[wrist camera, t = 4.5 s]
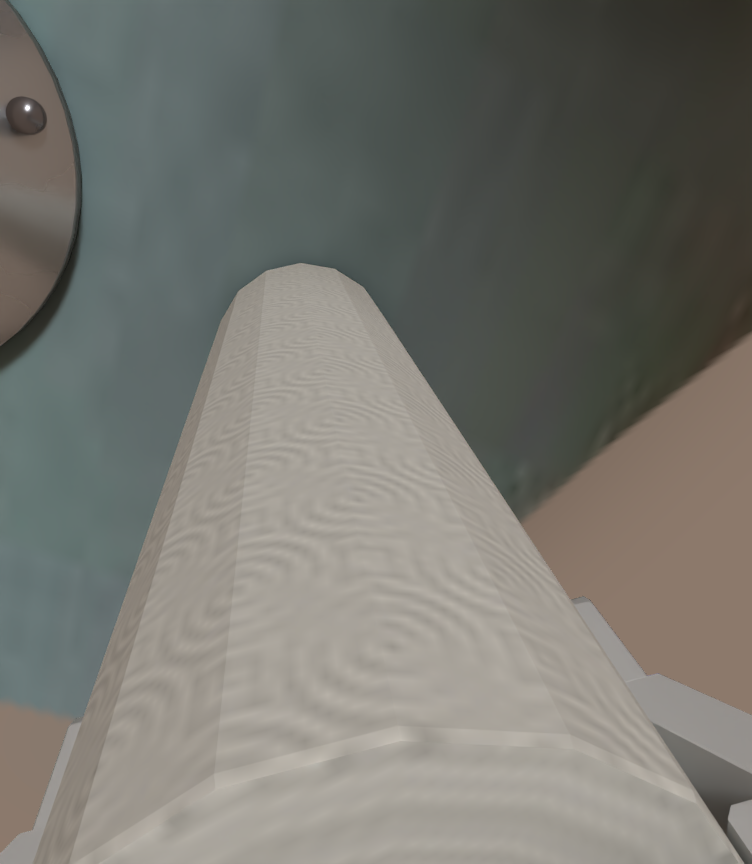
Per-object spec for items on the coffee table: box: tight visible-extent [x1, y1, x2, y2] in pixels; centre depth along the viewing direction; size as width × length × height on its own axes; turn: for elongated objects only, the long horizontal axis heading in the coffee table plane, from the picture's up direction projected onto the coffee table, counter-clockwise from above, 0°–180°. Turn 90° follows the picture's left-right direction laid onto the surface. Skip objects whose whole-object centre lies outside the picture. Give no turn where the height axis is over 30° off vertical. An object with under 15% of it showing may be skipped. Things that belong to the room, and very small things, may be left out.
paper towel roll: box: [33, 263, 745, 864], centre depth 15 cm, size 7×6×21 cm
